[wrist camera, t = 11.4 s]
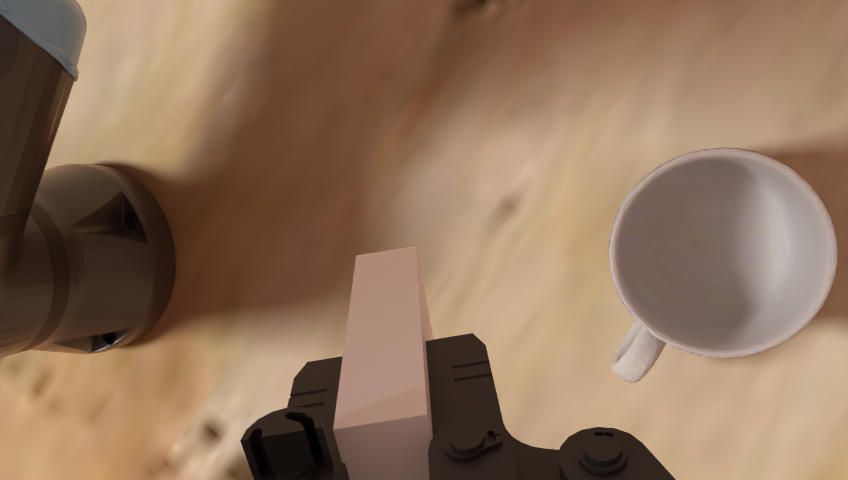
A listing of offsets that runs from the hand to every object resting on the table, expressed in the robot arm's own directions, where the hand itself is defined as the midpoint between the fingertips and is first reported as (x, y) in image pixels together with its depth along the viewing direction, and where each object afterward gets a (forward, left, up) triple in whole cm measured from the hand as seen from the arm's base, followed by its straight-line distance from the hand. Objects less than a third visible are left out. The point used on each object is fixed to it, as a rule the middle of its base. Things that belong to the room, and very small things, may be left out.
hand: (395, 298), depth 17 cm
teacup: (+9, 0, -29) cm, 30 cm away
